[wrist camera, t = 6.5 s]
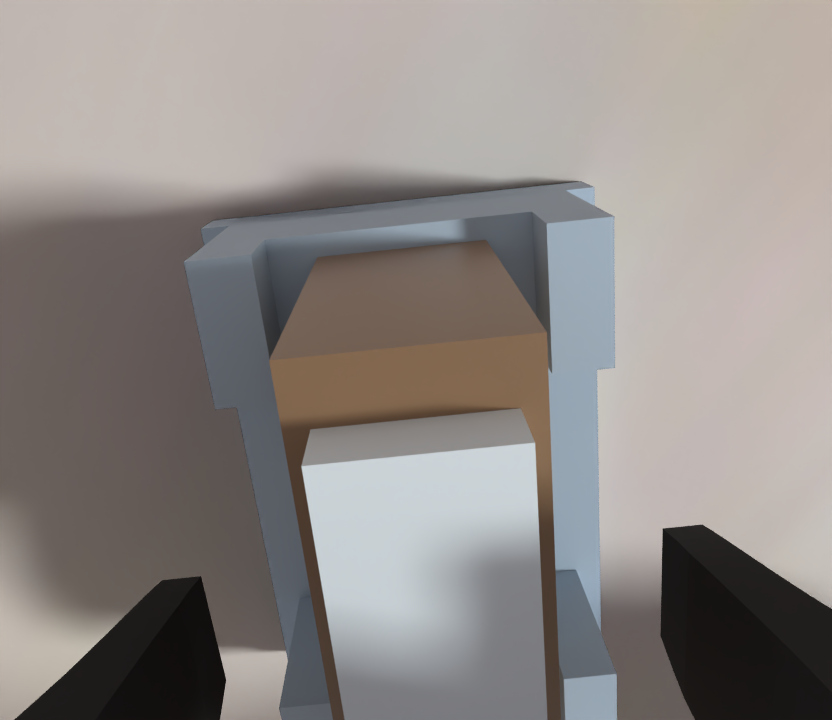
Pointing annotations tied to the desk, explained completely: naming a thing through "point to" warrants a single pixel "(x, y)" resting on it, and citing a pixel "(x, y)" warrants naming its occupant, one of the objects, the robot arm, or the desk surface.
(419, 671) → the tan brown bar
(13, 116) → the desk surface
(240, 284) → the display stand
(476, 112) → the desk surface
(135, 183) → the desk surface
